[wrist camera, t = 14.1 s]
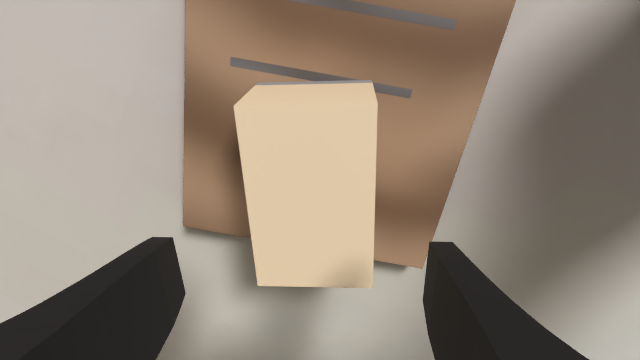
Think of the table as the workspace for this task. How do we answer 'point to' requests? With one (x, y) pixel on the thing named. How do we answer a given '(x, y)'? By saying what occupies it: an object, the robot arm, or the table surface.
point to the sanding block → (310, 181)
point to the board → (341, 65)
